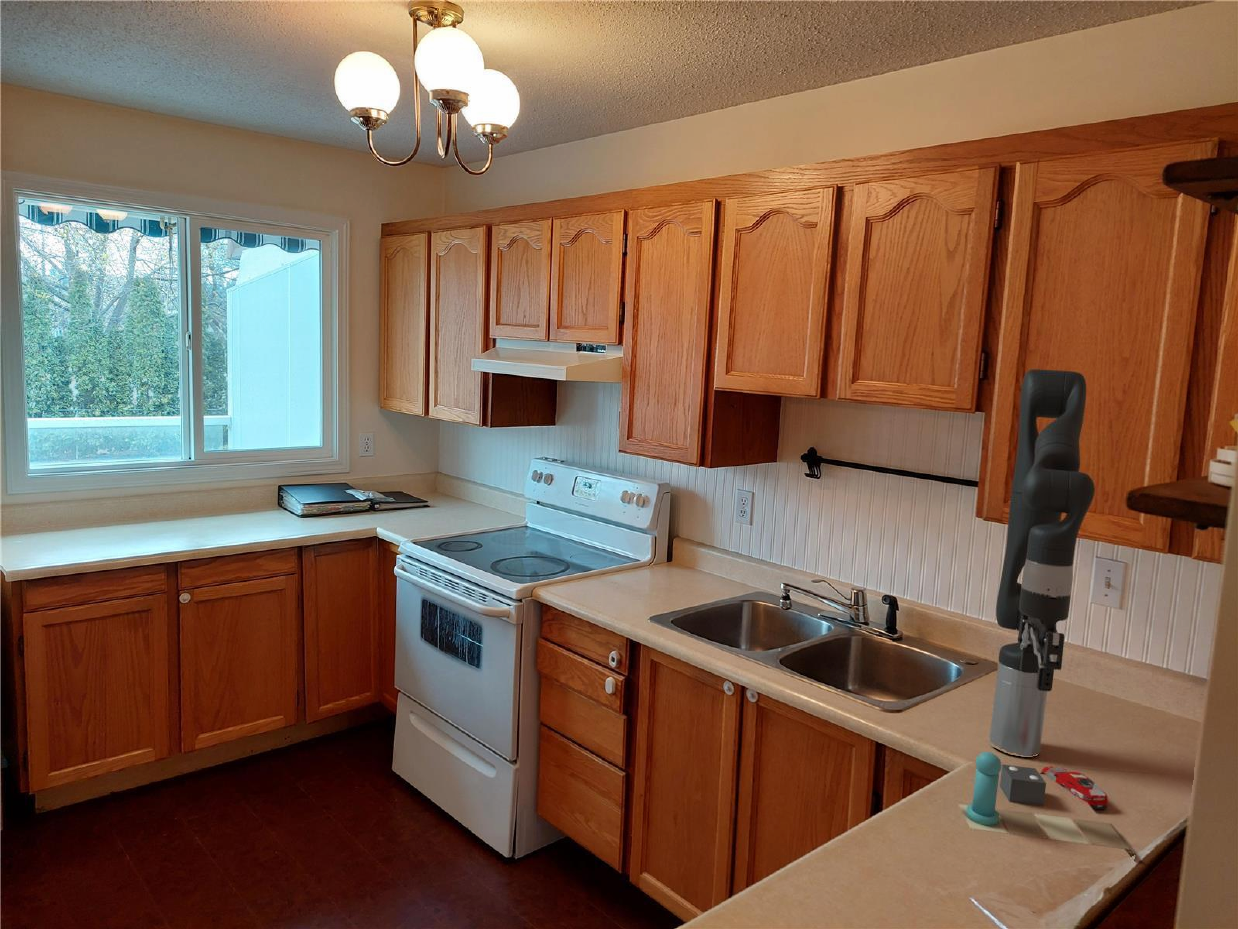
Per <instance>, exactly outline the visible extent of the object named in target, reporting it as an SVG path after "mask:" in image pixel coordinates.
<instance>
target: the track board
mask: <svg viewBox="0 0 1238 929" xmlns="http://www.w3.org/2000/svg"><path fill="white" fill-rule="evenodd" d="M968 805H969V804H963V803H962V804H960V803H958V807H959V808H960V810H961V813H962V815H963V817H964V819H965V821H966V822H967V824H968V826H969V829H970V830H977V831H985V832H993V833H1001V834H1010V835H1015V836H1023V837H1032V838H1039V839H1045V840H1048V838H1049V839H1050V840H1053V841H1062V842H1067V843H1068V842H1069V843H1075V844H1085V845H1089V843H1090V845H1092V846H1098V847H1107V848H1114V849H1121V850H1122V849H1123V850H1125V852H1126V853H1127V854H1128V856H1129V857H1130V858H1131V857H1132V856H1134V855H1136V856H1137V853H1136V852H1135V850H1134V849H1133V848H1132V847H1131V845H1130V844H1129V843H1128V842H1127V841H1126V839H1125V838H1124V837H1123V836H1122V834H1121V833H1120V832H1119V831H1118V830H1117V828H1116V827H1115V826H1114V825H1113V823H1108V822H1103V821H1094V820H1085V819H1079V818H1072V819H1071V818H1070V817H1065V816H1064V817H1063V816H1054V815H1047V814H1039V813H1034V815H1033V814H1032V813H1030V812H1024V811H1023V812H1022V811H1016V810H1010V809H1009V810H1007V809H999V808H995V810H996V811H997V812H998V813H999V821H998V824H997V825H995V826H984V825H980V824H977V823H975V822H973V821H971V820H970V819H969V818H968V817H967V815H966V814H967V806H968ZM1034 816H1035V817H1034ZM1001 820H1002V821H1001ZM1073 821H1074V822H1073ZM1002 822H1003V823H1002ZM1040 825H1041V826H1040ZM1004 826H1005V827H1006V828H1005V827H1004ZM1041 827H1042V828H1043V829H1042V828H1041ZM1077 827H1078V828H1079V829H1078V828H1077ZM1006 829H1007V830H1006ZM1007 831H1008V832H1007ZM1044 831H1045V832H1044ZM1045 833H1046V834H1045ZM1084 836H1085V837H1084Z"/></svg>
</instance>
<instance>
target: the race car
mask: <svg viewBox="0 0 1238 929" xmlns="http://www.w3.org/2000/svg"><path fill="white" fill-rule="evenodd" d="M1039 774H1040V775H1045V776H1046V777H1047V778H1050V780H1052V781H1054V782H1055V783H1056V784H1058V785H1059V786H1061V787H1062V788H1064V789H1065V790H1067V791H1068V792H1069V793H1071V794H1074V796H1075V797H1077V798H1078V799H1079V800H1082V801H1084V802H1086V803H1087V804H1088V806H1090V808H1091V809H1092V810H1102V809H1103V810H1105V809H1106V810H1107V808H1108V806H1109V804H1108V803H1109V799H1108V795H1107V793H1106V792H1105V790H1103V789H1101V788H1100V786H1099V785H1098V784H1096V783H1095V782H1094V781H1093V780H1092V779H1090V778H1089V776H1086V775H1085V774H1084V773H1081V772H1078V771H1070V770H1068V769H1066V768H1063V767H1058V766H1045V767H1044V768H1042V769H1041V771H1040V772H1039Z"/></svg>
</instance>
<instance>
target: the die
mask: <svg viewBox="0 0 1238 929" xmlns="http://www.w3.org/2000/svg"><path fill="white" fill-rule="evenodd" d="M1000 772H1001V773H1000V782H999V787H1000V789H1001V791H1002V792H1003V794H1004V796H1005V797H1006V799H1007V800H1008V802H1009V803H1017V804H1025V805H1033V806H1041V807H1043V806H1044V805H1045V804H1044V803H1045V795H1046V787H1047V782H1046V781H1045V779H1044V778H1043V777H1042V776H1041V775H1042V774H1040V772H1038V770H1037V769H1036V768H1034V767H1028V766H1027V767H1026V766H1017V765H1012V764H1011V765H1009V764H1004V763H1003V764H1002V763H1001V771H1000Z"/></svg>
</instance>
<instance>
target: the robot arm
mask: <svg viewBox="0 0 1238 929" xmlns="http://www.w3.org/2000/svg"><path fill="white" fill-rule="evenodd" d="M1020 389H1021V390H1020V402H1019V416H1018V417H1019V419H1018V420H1019V421H1018V438H1017V451H1016V458H1015V466H1014V472H1013V478H1012V484H1011V485H1012V486H1011V490H1010V491H1011V492H1010V499H1009V500H1010V501H1009V507H1008V508H1009V510H1008V511H1009V512H1008V523H1007V525H1008V526H1007V536H1006V545H1005V554H1004V559H1003V566H1002V570H1001V571H1002V572H1001V576H1000V582H999V588H998V593H997V600H996V607H995V616H996V617H995V618H996V623H997V625H998V626H999V627H1000V628H1002V629H1003V628H1004V629H1007V630H1013V631H1018V635H1017V642H1013V643H1008V644H1005V645H1003V646H1001V647H1000V649H999V653H998V662H997V670H996V671H997V672H996V680H995V689H994V690H995V691H994V699H993V707H992V714H991V715H992V716H991V721H990V722H991V724H990V733H989V739H990V742H991V743H993V744H994V745H995V746H998V747H999V748H1000V749H1004V750H1006V751H1007V752H1010V753H1016V754H1018V755H1023V756H1033V755H1036V754H1038V753H1039V752H1041V746H1042V736H1043V730H1044V721H1045V713H1046V712H1045V711H1046V706H1047V696H1048V692H1051V691H1052V689H1053V682H1054V674H1055V671H1061V669H1062V663H1063V654H1064V644H1065V634H1064V633H1061V632H1060V633H1059V632H1058V630H1057V623H1059V622H1060V621H1061V622H1063V621H1066V620H1068V618H1069V614H1070V607H1071V606H1070V605H1071V597H1072V588H1073V582H1074V574H1073V573H1074V572H1073V571H1074V557H1075V550H1076V543H1077V539H1078V535H1079V531H1080V528H1081V526H1082V523H1083V522H1084V519H1085V516H1086V515H1087V513H1088V511H1089V509H1090V507H1091V505H1092V504H1093V503H1092V502H1093V500H1094V497H1095V492H1096V491H1095V490H1096V489H1095V484H1094V483H1095V482H1094V481H1093V479H1092V478H1091V476H1090V475H1089V474H1088V473H1086V472H1082V471H1080V468H1081V453H1080V438H1081V433H1082V427H1083V424H1084V423H1083V421H1084V416H1085V410H1086V401H1087V382H1086V378H1085V376H1084V375H1083V374H1082V373H1080V372H1078V371H1071V370H1057V369H1056V370H1053V369H1040V368H1039V369H1038V368H1037V369H1029V370H1028V371H1026V373H1025V374H1024V377H1023V380H1022V384H1021V388H1020ZM1037 418H1045V419H1055V420H1053V421H1052V422H1050V423H1048V425H1046V426H1045V427H1043V429H1042V430H1041V431H1040V432H1039V429H1038V424H1037ZM1062 514H1065V516H1064V518H1063V519H1062ZM1022 570H1023V571H1022ZM1021 572H1022V578H1021V579H1022V580H1021V583H1020V582H1018V579H1019V577H1020V575H1021Z"/></svg>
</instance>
